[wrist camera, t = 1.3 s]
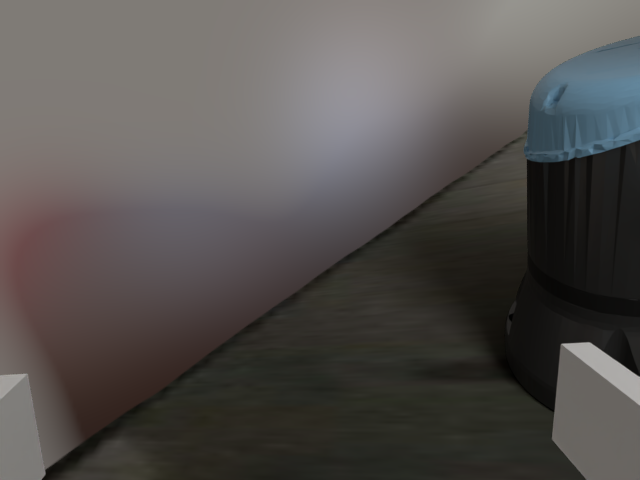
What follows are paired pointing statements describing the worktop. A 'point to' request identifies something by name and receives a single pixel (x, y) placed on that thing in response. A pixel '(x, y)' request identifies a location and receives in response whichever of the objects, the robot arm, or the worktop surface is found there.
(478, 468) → the worktop surface
